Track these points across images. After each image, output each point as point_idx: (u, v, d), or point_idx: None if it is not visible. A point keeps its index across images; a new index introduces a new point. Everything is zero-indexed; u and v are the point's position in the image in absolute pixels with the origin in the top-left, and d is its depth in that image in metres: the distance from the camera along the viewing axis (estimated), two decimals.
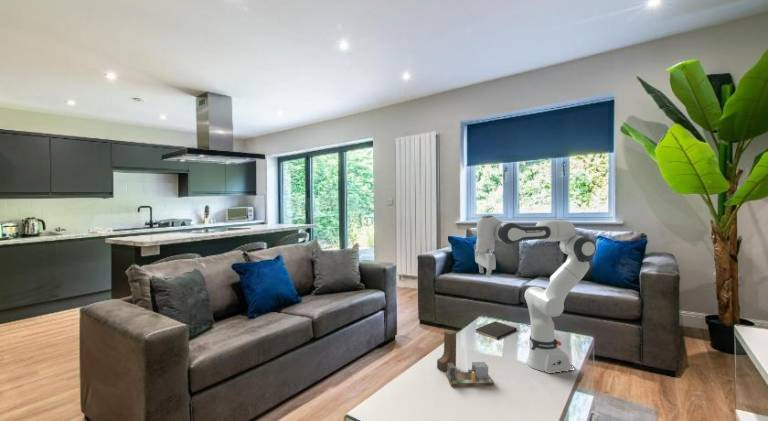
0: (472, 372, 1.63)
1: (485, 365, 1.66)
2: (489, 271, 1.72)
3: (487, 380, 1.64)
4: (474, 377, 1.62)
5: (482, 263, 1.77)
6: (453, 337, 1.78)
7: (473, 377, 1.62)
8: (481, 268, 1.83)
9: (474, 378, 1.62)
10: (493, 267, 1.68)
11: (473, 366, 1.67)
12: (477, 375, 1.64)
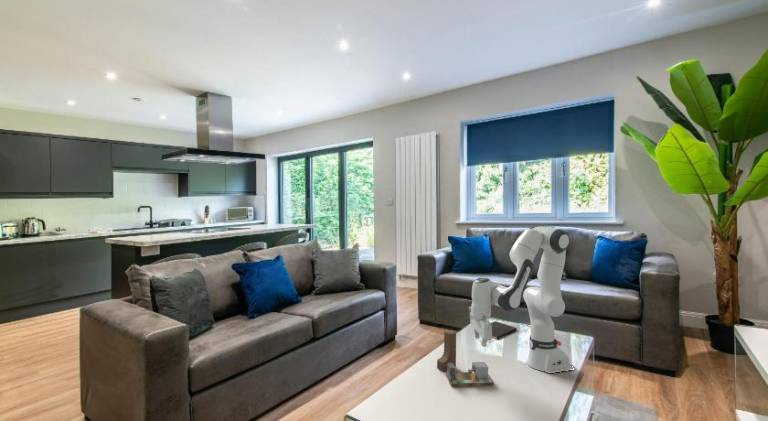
0: (472, 372, 1.63)
1: (485, 365, 1.66)
2: (485, 340, 1.60)
3: (487, 380, 1.64)
4: (474, 377, 1.62)
5: (477, 330, 1.65)
6: (453, 337, 1.78)
7: (473, 377, 1.62)
8: (476, 333, 1.71)
9: (474, 378, 1.62)
10: (489, 338, 1.56)
11: (473, 366, 1.67)
12: (477, 375, 1.64)
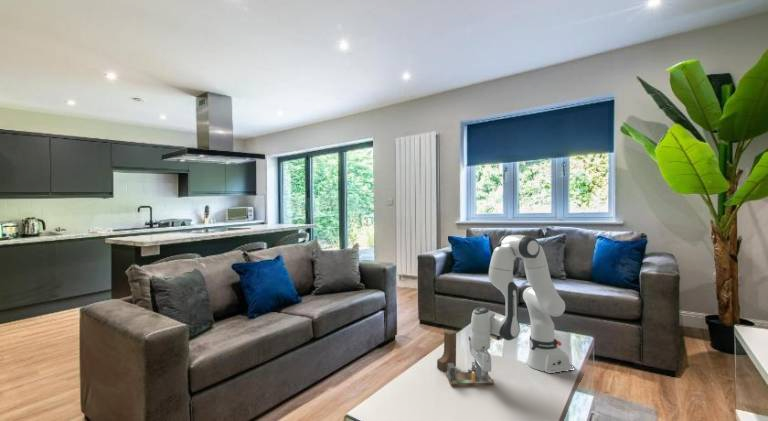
0: (472, 372, 1.63)
1: None
2: None
3: (487, 380, 1.64)
4: (474, 377, 1.62)
5: (477, 360, 1.65)
6: (453, 337, 1.78)
7: (473, 377, 1.62)
8: None
9: (474, 378, 1.62)
10: (489, 369, 1.57)
11: (473, 366, 1.67)
12: (477, 375, 1.64)
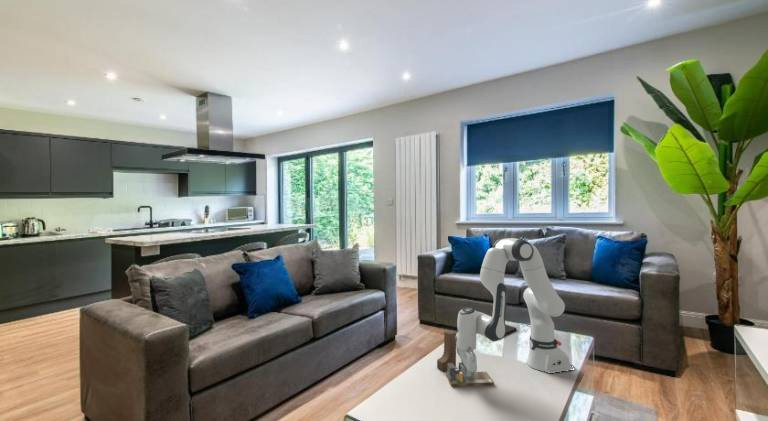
0: (460, 372, 1.62)
1: None
2: None
3: (487, 380, 1.64)
4: (462, 377, 1.62)
5: (463, 360, 1.65)
6: (453, 337, 1.78)
7: (461, 377, 1.62)
8: None
9: (462, 378, 1.62)
10: (474, 370, 1.56)
11: (459, 366, 1.67)
12: (463, 375, 1.64)
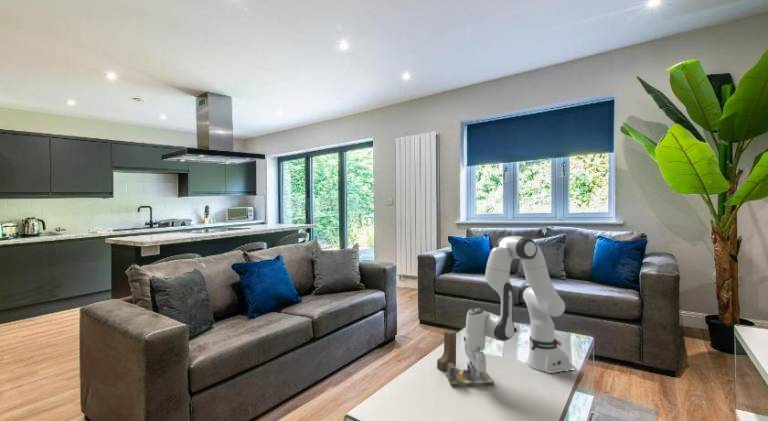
0: (459, 372, 1.62)
1: None
2: None
3: (487, 380, 1.64)
4: (461, 377, 1.62)
5: (472, 360, 1.65)
6: (453, 337, 1.78)
7: (460, 377, 1.62)
8: None
9: (461, 378, 1.62)
10: (483, 370, 1.57)
11: (468, 366, 1.67)
12: (472, 375, 1.64)
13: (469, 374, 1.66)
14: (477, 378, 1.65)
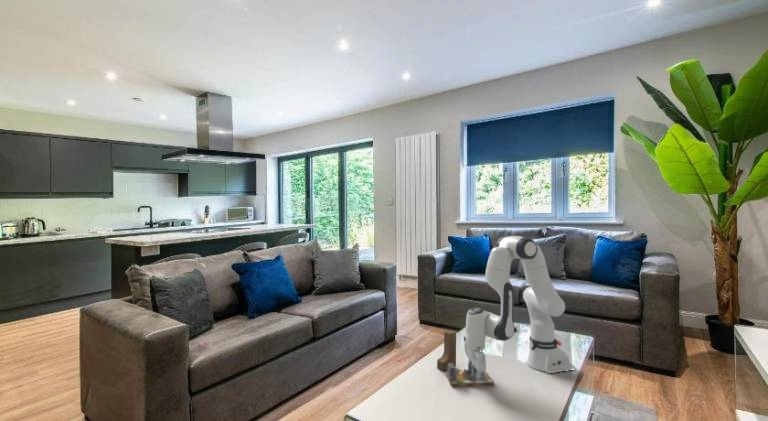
0: (459, 372, 1.62)
1: None
2: (479, 372, 1.61)
3: (487, 380, 1.64)
4: (461, 377, 1.62)
5: (472, 360, 1.65)
6: (453, 337, 1.78)
7: (460, 377, 1.62)
8: None
9: (461, 378, 1.62)
10: (483, 370, 1.57)
11: (469, 366, 1.67)
12: (473, 375, 1.64)
13: (470, 374, 1.66)
14: (478, 378, 1.65)
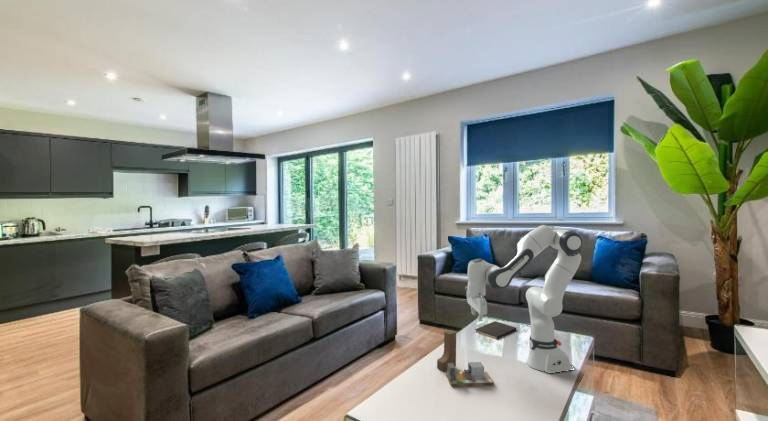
0: (459, 372, 1.62)
1: (481, 365, 1.66)
2: (481, 315, 1.75)
3: (487, 380, 1.64)
4: (461, 377, 1.62)
5: (474, 306, 1.79)
6: (453, 337, 1.78)
7: (460, 377, 1.62)
8: (473, 310, 1.86)
9: (461, 378, 1.62)
10: (485, 312, 1.71)
11: (469, 366, 1.67)
12: (473, 375, 1.64)
13: (470, 374, 1.66)
14: (478, 378, 1.65)
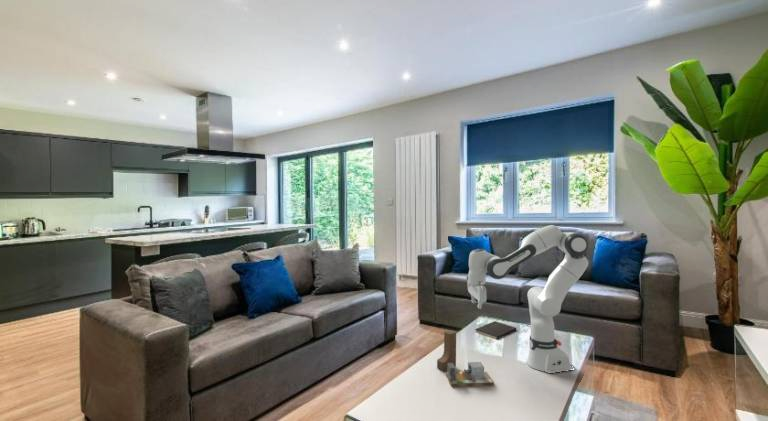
0: (459, 372, 1.62)
1: (481, 365, 1.66)
2: (480, 303, 1.81)
3: (487, 380, 1.64)
4: (461, 377, 1.62)
5: (474, 294, 1.85)
6: (453, 337, 1.78)
7: (460, 377, 1.62)
8: (473, 298, 1.92)
9: (461, 378, 1.62)
10: (484, 300, 1.77)
11: (469, 366, 1.67)
12: (473, 375, 1.64)
13: (470, 374, 1.66)
14: (478, 378, 1.65)
